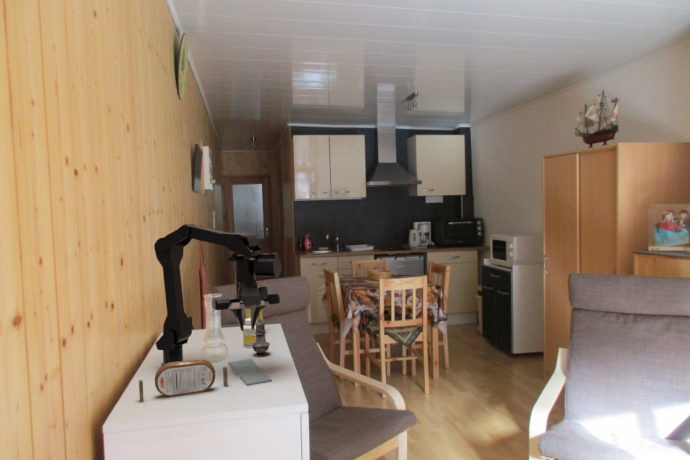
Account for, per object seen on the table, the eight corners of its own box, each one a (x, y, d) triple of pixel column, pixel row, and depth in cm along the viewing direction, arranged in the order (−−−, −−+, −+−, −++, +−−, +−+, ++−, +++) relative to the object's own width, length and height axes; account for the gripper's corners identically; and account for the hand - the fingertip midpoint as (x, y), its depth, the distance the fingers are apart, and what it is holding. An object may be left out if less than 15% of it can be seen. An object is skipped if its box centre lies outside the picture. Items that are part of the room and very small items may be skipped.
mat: (228, 363, 151) (228, 362, 151) (250, 360, 154) (250, 358, 154) (246, 385, 132) (246, 383, 132) (272, 381, 135) (272, 379, 135)
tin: (215, 387, 131) (214, 356, 131) (216, 391, 128) (215, 359, 128) (155, 395, 126) (154, 363, 126) (154, 400, 123) (153, 367, 123)
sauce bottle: (258, 331, 193) (256, 280, 192) (266, 333, 188) (264, 282, 188) (243, 333, 189) (241, 282, 188) (251, 336, 184) (249, 284, 183)
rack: (139, 400, 123) (138, 380, 123) (226, 384, 133) (225, 366, 133) (140, 402, 122) (139, 382, 122) (227, 386, 132) (227, 367, 131)
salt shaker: (257, 358, 156) (256, 321, 155) (248, 355, 160) (247, 318, 160) (273, 355, 160) (272, 318, 159) (264, 351, 164) (263, 315, 164)
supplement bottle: (251, 349, 167) (250, 321, 167) (240, 347, 170) (239, 319, 170) (262, 345, 171) (261, 318, 171) (251, 343, 175) (250, 316, 174)
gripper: (218, 282, 131) (220, 340, 131) (285, 277, 139) (287, 331, 139) (210, 278, 141) (212, 332, 141) (273, 273, 149) (275, 324, 149)
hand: (247, 330), depth 142 cm, fingers open, 3 cm apart
